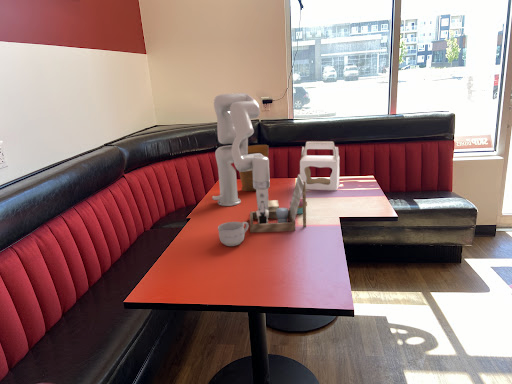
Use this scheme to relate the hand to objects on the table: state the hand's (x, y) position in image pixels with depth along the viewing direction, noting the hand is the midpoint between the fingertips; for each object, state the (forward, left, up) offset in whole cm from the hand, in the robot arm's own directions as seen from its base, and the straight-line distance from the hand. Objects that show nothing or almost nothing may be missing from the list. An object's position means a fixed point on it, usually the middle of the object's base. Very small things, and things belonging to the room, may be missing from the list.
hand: (262, 221), depth 178 cm
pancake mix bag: (-4, +59, -2) cm, 59 cm away
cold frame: (+7, 0, -2) cm, 7 cm away
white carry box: (+36, +60, -2) cm, 70 cm away
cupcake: (+18, +15, -2) cm, 23 cm away
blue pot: (+9, +1, -2) cm, 9 cm away
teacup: (-12, -19, -2) cm, 23 cm away
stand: (+3, +16, -2) cm, 16 cm away
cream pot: (0, 0, -1) cm, 1 cm away
